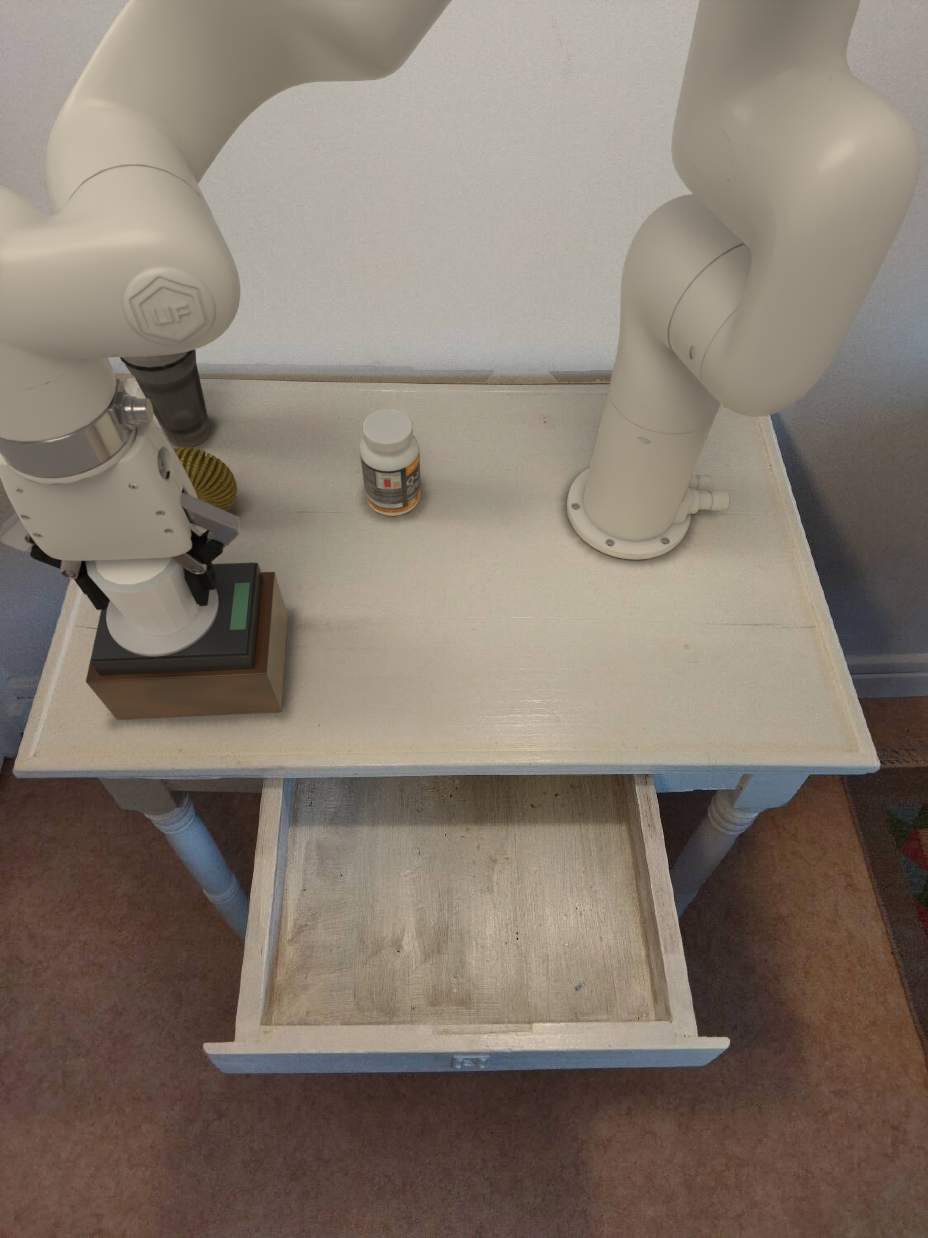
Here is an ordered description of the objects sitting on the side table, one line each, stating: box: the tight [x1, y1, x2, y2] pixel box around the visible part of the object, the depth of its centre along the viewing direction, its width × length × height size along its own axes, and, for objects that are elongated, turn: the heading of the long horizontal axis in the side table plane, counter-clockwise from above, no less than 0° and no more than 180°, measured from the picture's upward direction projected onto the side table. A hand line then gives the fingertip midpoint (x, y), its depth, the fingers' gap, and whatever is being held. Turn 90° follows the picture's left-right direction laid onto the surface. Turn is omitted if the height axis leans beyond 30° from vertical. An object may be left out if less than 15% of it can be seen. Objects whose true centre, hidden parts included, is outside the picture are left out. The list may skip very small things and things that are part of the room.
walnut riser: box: [85, 571, 289, 720], centre depth 67 cm, size 14×10×7 cm
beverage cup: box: [119, 349, 211, 448], centre depth 77 cm, size 7×7×20 cm
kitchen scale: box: [89, 562, 262, 675], centre depth 63 cm, size 12×9×3 cm
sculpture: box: [173, 447, 238, 512], centre depth 76 cm, size 8×4×8 cm, turn 82°
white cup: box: [85, 557, 199, 636], centre depth 59 cm, size 7×7×7 cm
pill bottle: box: [359, 408, 422, 517], centre depth 77 cm, size 6×6×10 cm
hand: (155, 591), depth 60 cm, fingers closed on white cup, 6 cm apart
